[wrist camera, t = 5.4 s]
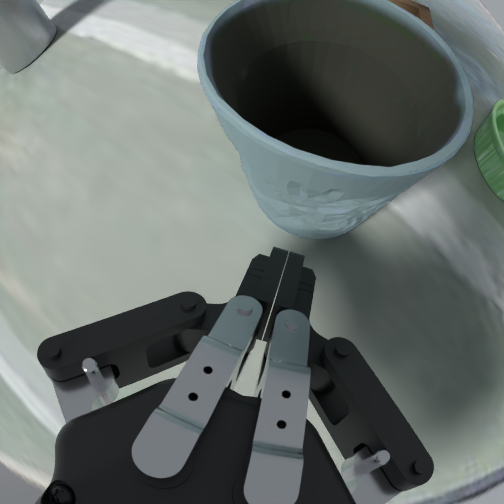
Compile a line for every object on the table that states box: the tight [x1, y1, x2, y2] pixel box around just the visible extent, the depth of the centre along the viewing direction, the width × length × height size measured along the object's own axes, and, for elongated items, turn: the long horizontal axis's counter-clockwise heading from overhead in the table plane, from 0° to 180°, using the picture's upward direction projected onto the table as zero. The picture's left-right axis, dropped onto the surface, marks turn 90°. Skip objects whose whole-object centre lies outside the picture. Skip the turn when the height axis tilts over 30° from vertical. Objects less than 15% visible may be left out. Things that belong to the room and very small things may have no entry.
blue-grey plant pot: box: [197, 0, 474, 239], centre depth 14 cm, size 10×10×12 cm
